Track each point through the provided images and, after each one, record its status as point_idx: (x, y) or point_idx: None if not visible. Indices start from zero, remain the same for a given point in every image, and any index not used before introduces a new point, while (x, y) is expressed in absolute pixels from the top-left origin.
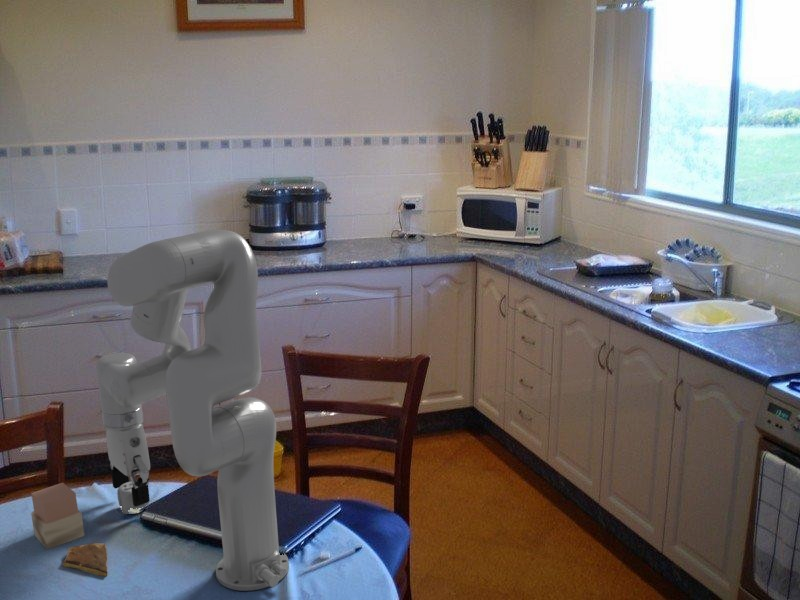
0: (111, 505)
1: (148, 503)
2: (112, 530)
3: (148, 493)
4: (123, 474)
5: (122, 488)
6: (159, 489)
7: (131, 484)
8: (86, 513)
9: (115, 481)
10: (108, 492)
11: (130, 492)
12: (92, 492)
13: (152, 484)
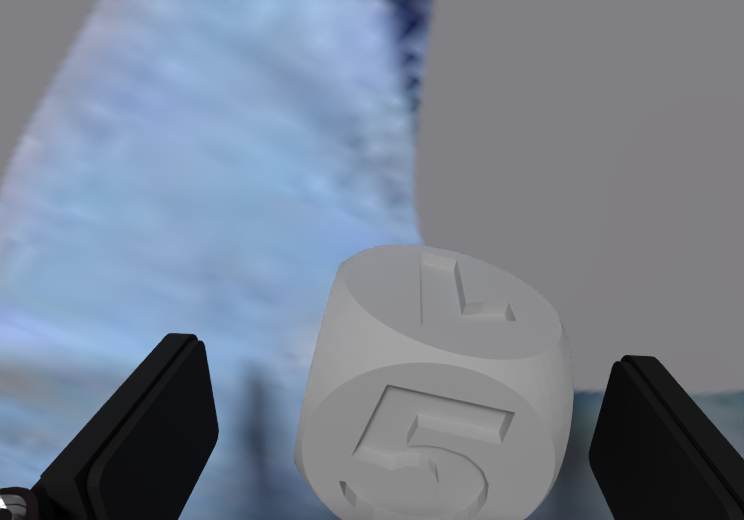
0: (275, 392)
1: (535, 292)
2: (565, 502)
3: (701, 416)
4: (153, 455)
5: (370, 501)
6: (251, 38)
7: (362, 434)
8: (278, 500)
9: (190, 480)
10: (88, 335)
11: (528, 512)
12: (42, 392)
13: (121, 42)
